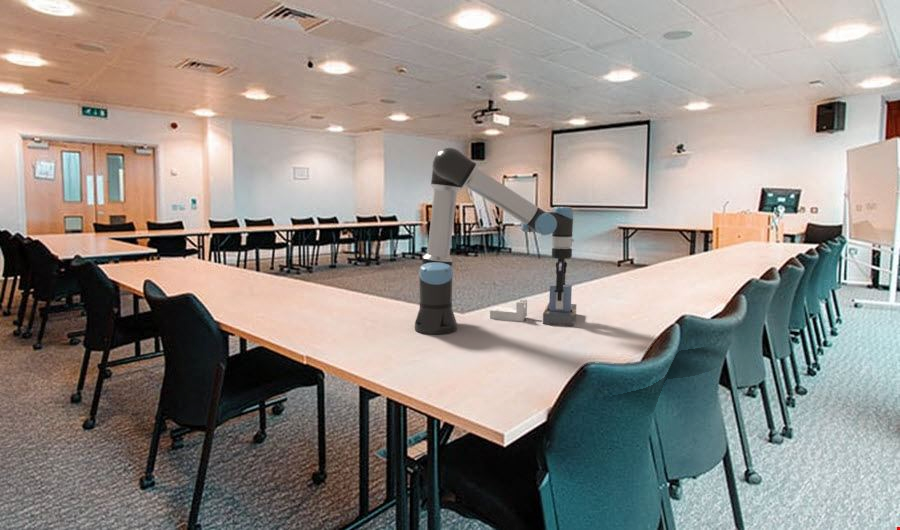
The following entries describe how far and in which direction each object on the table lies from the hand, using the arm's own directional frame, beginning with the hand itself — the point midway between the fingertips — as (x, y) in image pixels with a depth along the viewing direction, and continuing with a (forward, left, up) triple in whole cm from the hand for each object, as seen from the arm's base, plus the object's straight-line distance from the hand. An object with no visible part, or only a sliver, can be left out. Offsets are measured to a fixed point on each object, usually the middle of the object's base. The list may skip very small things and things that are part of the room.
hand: (560, 306), depth 207 cm
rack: (0, +3, -5) cm, 6 cm away
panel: (0, 0, -5) cm, 5 cm away
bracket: (-20, -2, -6) cm, 21 cm away
